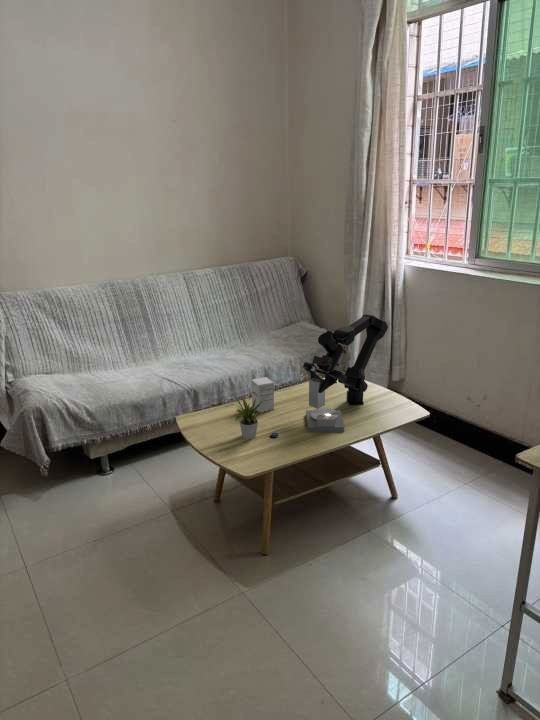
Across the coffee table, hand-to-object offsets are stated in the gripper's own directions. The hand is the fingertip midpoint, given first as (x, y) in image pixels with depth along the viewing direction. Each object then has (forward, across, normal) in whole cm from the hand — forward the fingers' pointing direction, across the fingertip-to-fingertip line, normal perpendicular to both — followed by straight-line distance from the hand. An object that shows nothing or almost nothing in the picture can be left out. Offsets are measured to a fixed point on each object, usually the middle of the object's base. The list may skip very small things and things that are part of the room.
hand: (314, 391), depth 220 cm
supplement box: (+12, -25, +7) cm, 29 cm away
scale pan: (+6, +2, +11) cm, 12 cm away
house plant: (+28, -12, -10) cm, 32 cm away
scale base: (+8, +3, +11) cm, 14 cm away
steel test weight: (+4, 0, +6) cm, 7 cm away
